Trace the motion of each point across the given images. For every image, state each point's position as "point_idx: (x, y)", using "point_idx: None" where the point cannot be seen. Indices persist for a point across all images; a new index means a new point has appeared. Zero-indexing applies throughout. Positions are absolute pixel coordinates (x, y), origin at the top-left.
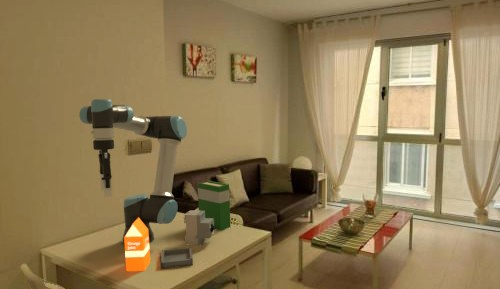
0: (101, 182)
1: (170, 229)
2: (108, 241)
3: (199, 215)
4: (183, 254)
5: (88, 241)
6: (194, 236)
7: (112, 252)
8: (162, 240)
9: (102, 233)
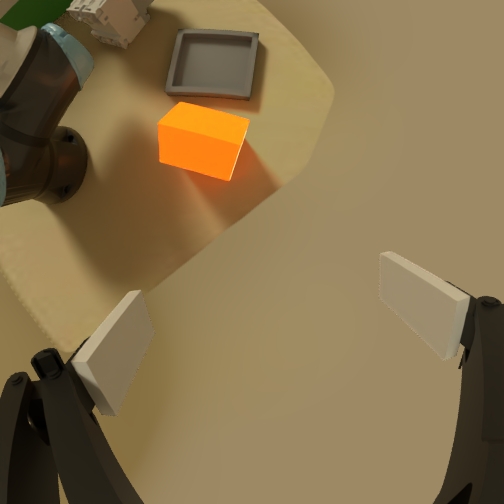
0: (135, 364)
1: None
2: (43, 237)
3: None
4: (193, 49)
5: (39, 281)
6: (134, 19)
7: (104, 221)
8: (75, 104)
9: (8, 255)
